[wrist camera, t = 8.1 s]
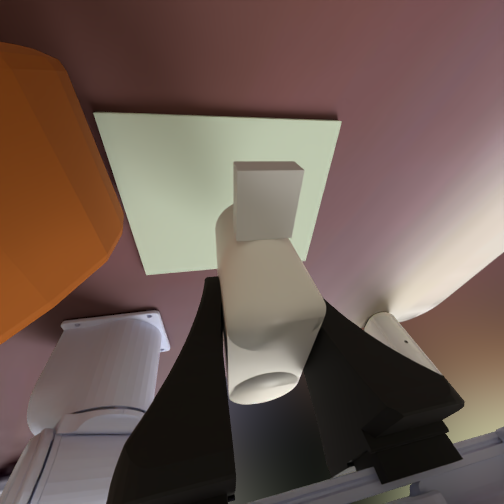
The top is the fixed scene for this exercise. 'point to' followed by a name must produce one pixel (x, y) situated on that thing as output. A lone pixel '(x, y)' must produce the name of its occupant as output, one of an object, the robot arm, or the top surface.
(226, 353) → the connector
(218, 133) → the rubber mat
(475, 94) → the top surface
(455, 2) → the top surface
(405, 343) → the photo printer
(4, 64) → the orange toaster
